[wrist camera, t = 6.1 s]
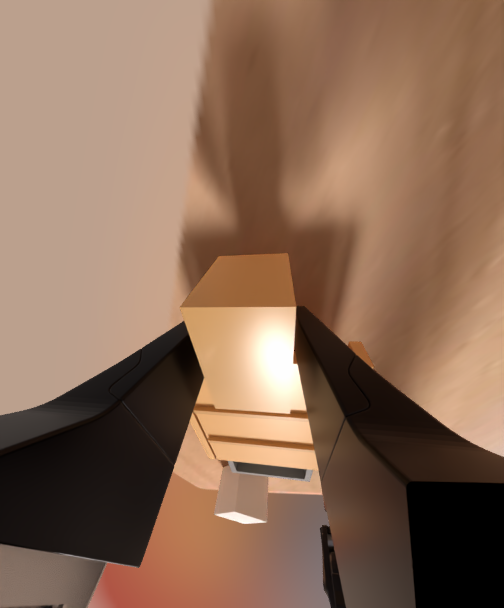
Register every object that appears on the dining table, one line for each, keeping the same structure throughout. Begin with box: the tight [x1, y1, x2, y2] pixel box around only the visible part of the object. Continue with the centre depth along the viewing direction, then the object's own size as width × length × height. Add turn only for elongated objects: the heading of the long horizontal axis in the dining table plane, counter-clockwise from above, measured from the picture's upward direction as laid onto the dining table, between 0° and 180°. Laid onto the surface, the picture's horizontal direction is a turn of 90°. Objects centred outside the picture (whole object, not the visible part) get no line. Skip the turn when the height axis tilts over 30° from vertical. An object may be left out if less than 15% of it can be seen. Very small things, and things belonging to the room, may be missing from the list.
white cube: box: [214, 465, 268, 524], centre depth 32 cm, size 6×6×6 cm
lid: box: [180, 253, 374, 471], centre depth 11 cm, size 11×19×4 cm, turn 5°
